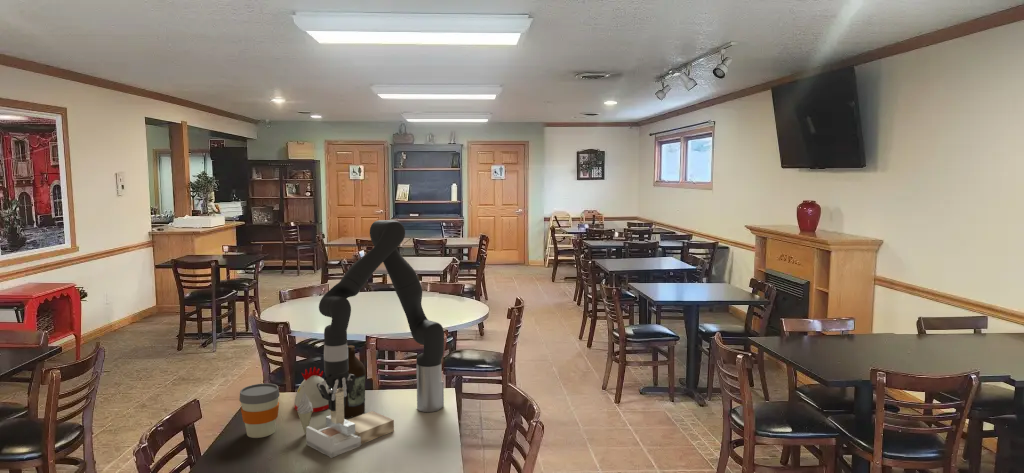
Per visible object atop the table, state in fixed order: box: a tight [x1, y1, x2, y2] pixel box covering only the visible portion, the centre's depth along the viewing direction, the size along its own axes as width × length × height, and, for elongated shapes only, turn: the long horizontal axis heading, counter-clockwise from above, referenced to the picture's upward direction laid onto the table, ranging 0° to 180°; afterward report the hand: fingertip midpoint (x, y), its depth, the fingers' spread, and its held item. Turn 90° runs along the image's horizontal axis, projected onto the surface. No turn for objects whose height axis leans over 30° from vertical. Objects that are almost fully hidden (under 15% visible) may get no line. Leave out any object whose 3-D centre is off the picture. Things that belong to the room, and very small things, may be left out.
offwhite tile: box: [331, 433, 354, 444], centre depth 196 cm, size 5×5×2 cm
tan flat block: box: [347, 410, 395, 445], centre depth 206 cm, size 14×12×4 cm
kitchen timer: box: [294, 366, 329, 413], centre depth 230 cm, size 14×14×15 cm
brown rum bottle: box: [344, 345, 367, 419], centre depth 223 cm, size 11×11×25 cm
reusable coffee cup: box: [238, 382, 281, 439], centre depth 206 cm, size 12×13×15 cm
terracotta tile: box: [322, 428, 340, 437], centre depth 200 cm, size 5×5×2 cm
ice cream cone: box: [296, 392, 313, 435], centre depth 205 cm, size 5×5×15 cm
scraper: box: [325, 389, 355, 436], centre depth 198 cm, size 4×12×13 cm, turn 49°
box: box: [305, 425, 362, 459], centre depth 197 cm, size 11×14×6 cm
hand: (337, 408), depth 197 cm, fingers closed on scraper, 3 cm apart
